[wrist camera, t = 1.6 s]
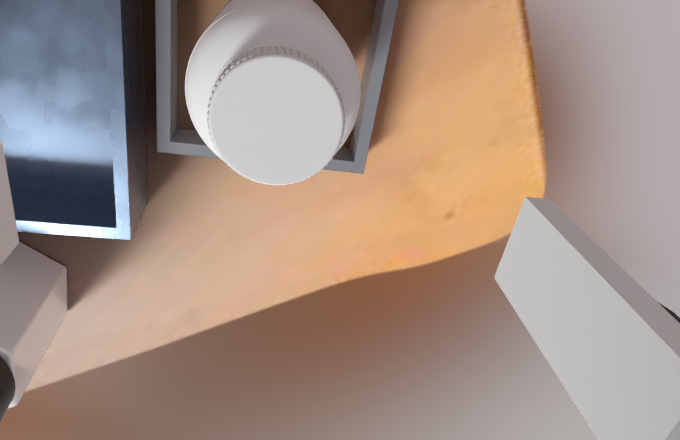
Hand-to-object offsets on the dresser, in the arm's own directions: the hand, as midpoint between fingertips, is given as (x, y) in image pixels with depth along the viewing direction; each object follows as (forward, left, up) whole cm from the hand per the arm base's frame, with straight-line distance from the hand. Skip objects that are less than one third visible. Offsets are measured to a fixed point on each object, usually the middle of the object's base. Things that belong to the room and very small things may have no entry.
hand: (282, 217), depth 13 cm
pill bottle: (0, 0, -22) cm, 22 cm away
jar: (-18, -20, -22) cm, 35 cm away
